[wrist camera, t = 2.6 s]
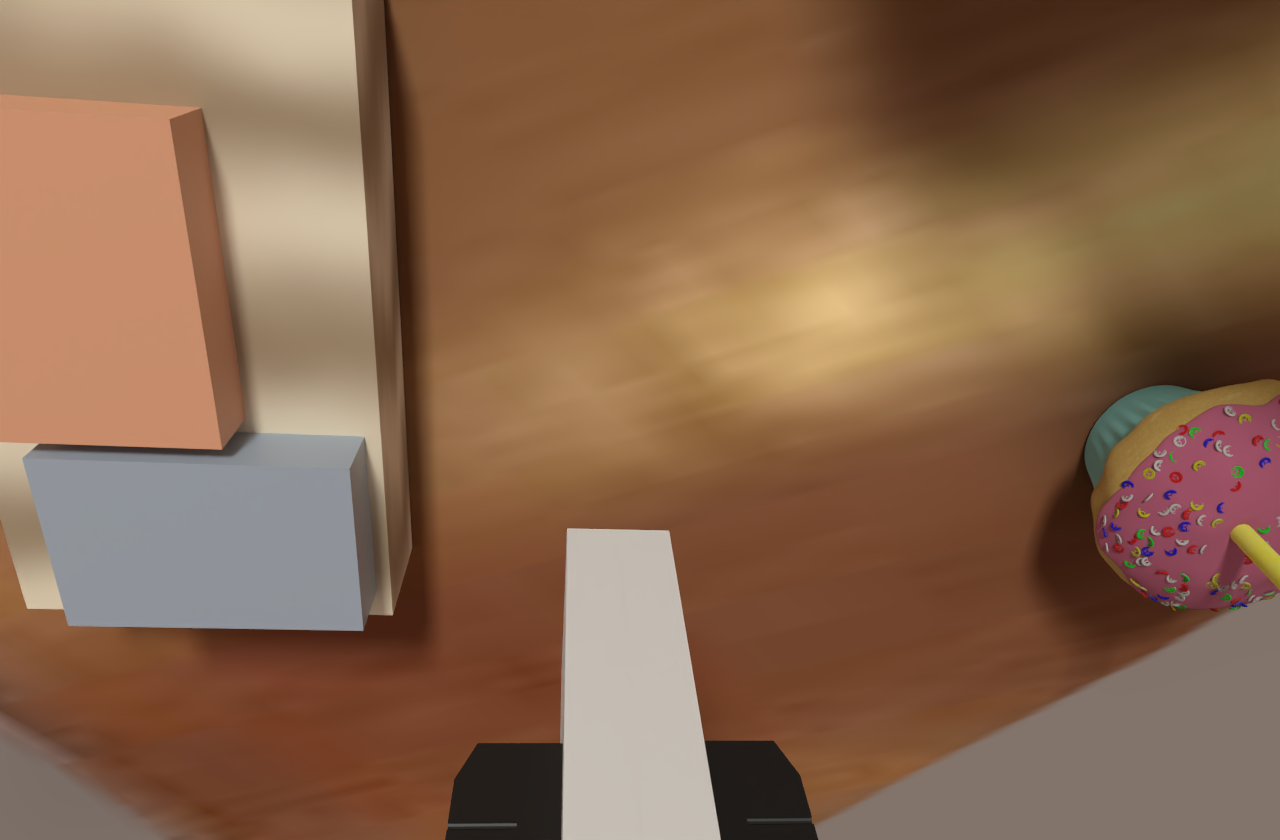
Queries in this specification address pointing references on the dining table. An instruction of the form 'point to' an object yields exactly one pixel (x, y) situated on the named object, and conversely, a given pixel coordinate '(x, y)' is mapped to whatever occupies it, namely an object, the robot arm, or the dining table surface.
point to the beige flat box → (258, 216)
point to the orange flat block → (112, 279)
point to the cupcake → (1190, 493)
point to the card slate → (209, 532)
